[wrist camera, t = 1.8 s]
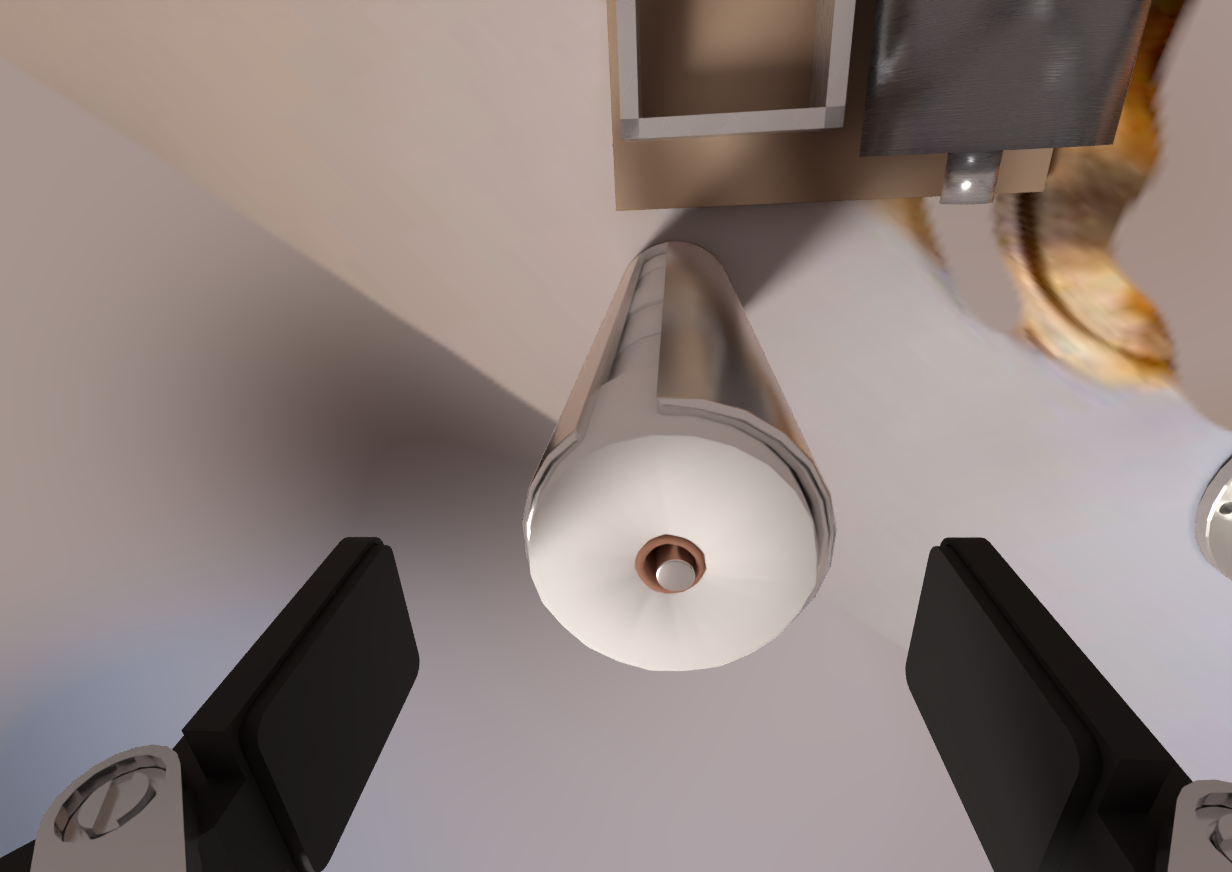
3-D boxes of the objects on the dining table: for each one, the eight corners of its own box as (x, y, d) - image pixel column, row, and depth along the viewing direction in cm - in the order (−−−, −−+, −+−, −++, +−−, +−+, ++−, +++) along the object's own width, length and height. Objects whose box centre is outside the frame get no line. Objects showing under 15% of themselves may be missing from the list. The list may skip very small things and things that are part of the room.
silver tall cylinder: (611, 346, 35) (503, 674, 13) (624, 233, 33) (514, 396, 10) (720, 361, 35) (803, 719, 13) (741, 248, 32) (899, 449, 10)
